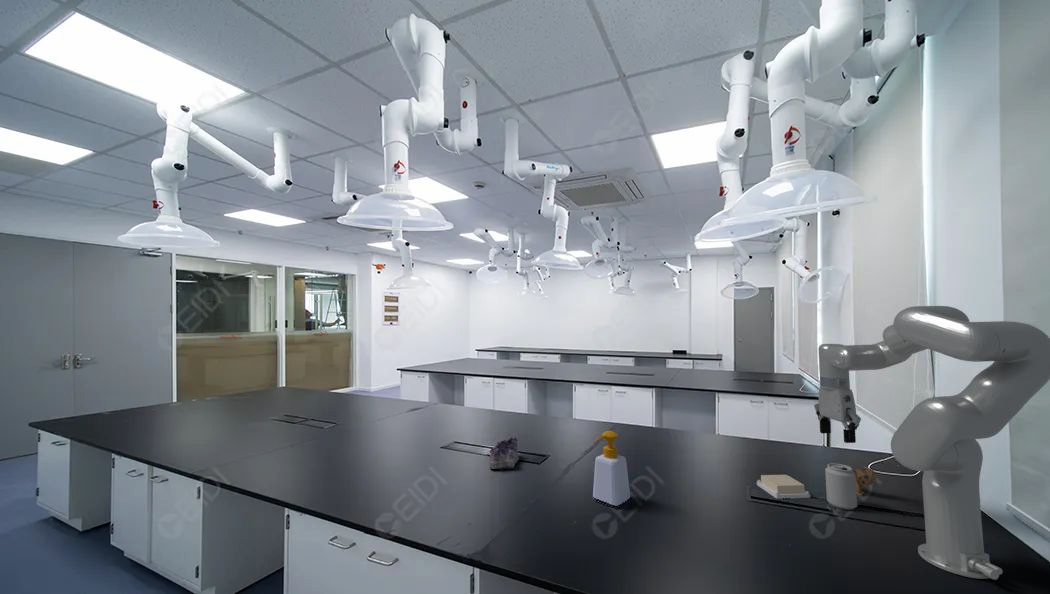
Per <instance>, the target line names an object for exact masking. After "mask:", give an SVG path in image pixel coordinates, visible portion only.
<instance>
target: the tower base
mask: <svg viewBox="0 0 1050 594" xmlns="http://www.w3.org/2000/svg"><path fill="white" fill-rule="evenodd" d="M756 486H757V487H759V488H761V489H762V490H763V491H765V492H766V493H767V494H769V495H771V496H772V497H774V498H775V499H776V500H777V499H778V500H780V499H781V500H783V498H784V499H785V498H787V499H788V498H790V499H810V498H811V494H810V491H808V490H805V484H803V483H801V482H800V481H798V480H796V479H795V478H793V477H792V476H789V475H788V474H761V475H760V479H757V481H756Z"/></svg>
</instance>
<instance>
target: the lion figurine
mask: <svg viewBox="0 0 1050 594" xmlns="http://www.w3.org/2000/svg"><path fill="white" fill-rule="evenodd" d="M852 471H853V472H854V473H855V477H856V494H857V495H858V496H860V497H861V496H863V495H864V494H865V491H863V487H866V488H868V487H869V486H870V485H873V484H875V483H876V481H877V475H876V471H875V470H874V469H872V468H871V467H863V468H859V469H854V470H852ZM824 482H825V483H826V480H824Z"/></svg>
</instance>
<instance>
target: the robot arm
mask: <svg viewBox="0 0 1050 594" xmlns="http://www.w3.org/2000/svg"><path fill="white" fill-rule="evenodd" d="M882 339H883V340H882V341H879V342H876V343H872V344H850V345H849V344H848V345H847V344H841V343H823V344H820V345H819V346H818V366H819V367H818V369H819V390H818V403H815V404H814V409H815V414H816V415H817V420H818V421H819V433H821V434H831V433H832V429H831V420H834V421H837V422H839V423H841V424H842V426H843V428H844V429H843V443H845V444H855V443H856V442H857V440H856V439H857V438H856V431H857V430H858V428H859V426H860V423H861V421H862V418H861V417H860V416H859V415H858V413H857V408H856V402H855V397H854V393H853V390H852V389H851V384H850V371H877V370H883V369H887V368H890V367H892V366H895V365H899V364H901V363H904V362H906V361H907V360H908V359H910V358H911V357H912V355H915V354H917V353H919V352H923V351H926V350H930V351H933V352H936V353H938V354H942V355H944V356H946V357H950V358H953V359H957V360H959V361H964V362H976V363H977V362H978V363H980V362H993V363H991V364H990V365H989V366H987V367H986V368H984V369H983V370H981V371H980V372H979V373H977V374H976V375H975V376H974V377H973V378H972V380H971V381H970V382H969V383H968V385H966V386H965V388H964V389H963V390H962V391H960V392H959V393H957V394H955V395H954V394H953V395H947V396H946V395H945V396H944V395H943V396H934V397H928V398H926V399H924V400H922V401H920V402H919V403H918V404H916V405H915V406H914V408H912V410H911V411H910V412H909V413H908V414H907V416H906V417H905V419H904V420H903V421H902V423H900V425H899V426H898V427H897V429H896V430H895V432H894V433H893V435H892V437H891V441H890V451H891V454H892V455H893V457H894V458H895V460H896V461H897V462H898V463H899V464H900V465H902V466H903V467H904V468H907V469H909V470H913V471H918V472H923V474H922V475H923V476H922V481H921V483H922V486H921V487H922V497H923V498H922V499H923V500H922V501H923V513H924V525H925V526H924V528H925V541H926V542H925V543H922V544H920V545H918V547H917V551H918V552H917V553H918V554H919V556H920V557H921V558H922V559H923V560H925V562H928V563H929V564H931V565H933V566H934V567H937V568H939V569H941V570H943V571H946V572H948V573H952V574H954V575H959V576H962V577H967V578H970V579H978V580H986V579H987V580H989V579H992V580H993V581H994V580H998V578H999V577H1000V575H1002V574H1003V569H1002V568H1001V567H999V566H996V565H995V564H992V563H991V559H990V554H988V553H986V552H985V550H984V549H985V547H984V539H983V538H984V536H983V524H982V511H981V494H980V479H981V478H980V476H981V471H982V466H983V459H984V458H983V457H984V455H983V450H982V447H981V444H979V442H978V440H983V439H989V438H992V437H994V436H996V435H997V434H999V433H1000V432H1001V431H1002V430H1003V429H1004V428H1005V427H1006V426H1007V424H1008V423H1010V421H1011V420H1013V419H1014V417H1015V416H1016V415H1017V414H1019V412H1020V411H1021V410H1022V409H1023V408H1024V406H1025V405H1026V404H1027V403H1028V402H1029V401H1030V400H1031V399H1032V398H1033V397H1034V396H1035V395H1036V394H1037V393H1038V392H1039V391H1040V390H1042V388H1043V387H1044V386H1045V385H1046V384H1047V383H1048V382H1049V381H1050V336H1048V335H1047V334H1046V333H1045V332H1044V331H1042V330H1041V329H1040V328H1038V327H1036V326H1034V325H1031V324H1028V323H1025V322H1024V323H1023V322H1020V321H1007V320H1006V321H1005V320H1004V321H1003V320H999V321H993V320H992V321H970V318H969V317H968V315H967V314H966V313H965V312H963V311H962V310H960V309H959V308H956V307H952V306H948V305H917V306H915V305H914V306H908V307H906V308H904V309H901V310H900V311H899V312H898V313H897V314H896V315H895V317H894V319H893V324H891V325H889V326H887V327H885V329H884V330H883V332H882Z"/></svg>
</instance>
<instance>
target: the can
mask: <svg viewBox="0 0 1050 594" xmlns="http://www.w3.org/2000/svg"><path fill="white" fill-rule="evenodd" d="M826 466H827V467H826V468H824V471H825V474H824V475H825V481H826V482H825V491H826V492H825V493H826V501H827V502H828V503H829V504H830V505H831V506H832V507H834V508H838V509H842V510H847V511H849V510H850V511H851V510H854V509H855V508H858V497H857V495H858V494H857V490H856V477H855V473H854V472H853V471H854V470H853V468H852V466H849V465H847V464H846V465H845V464H842V463H834V462H832V463H831V462H830V463H827V465H826Z"/></svg>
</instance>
